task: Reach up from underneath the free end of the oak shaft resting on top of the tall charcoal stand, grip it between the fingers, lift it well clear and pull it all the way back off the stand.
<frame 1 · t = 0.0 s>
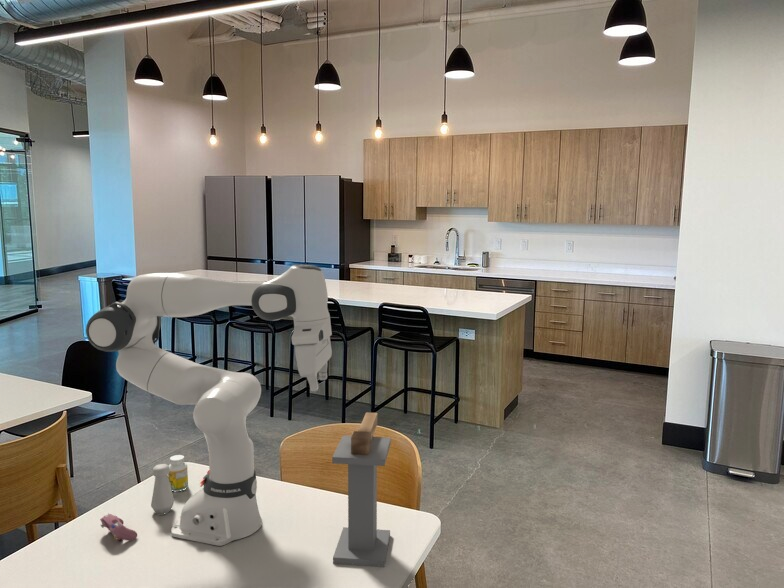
hand: (319, 384, 140), 39 cm above the table, tool pointing down, fingers open, 8 cm apart
salt shaker: (163, 511, 155), on the table
supplement bottle: (178, 489, 168), on the table
charcoal stand: (362, 548, 138), on the table
oak shaft: (366, 438, 140), point 26 cm above the table, touching charcoal stand
pink toy figure: (118, 537, 143), on the table
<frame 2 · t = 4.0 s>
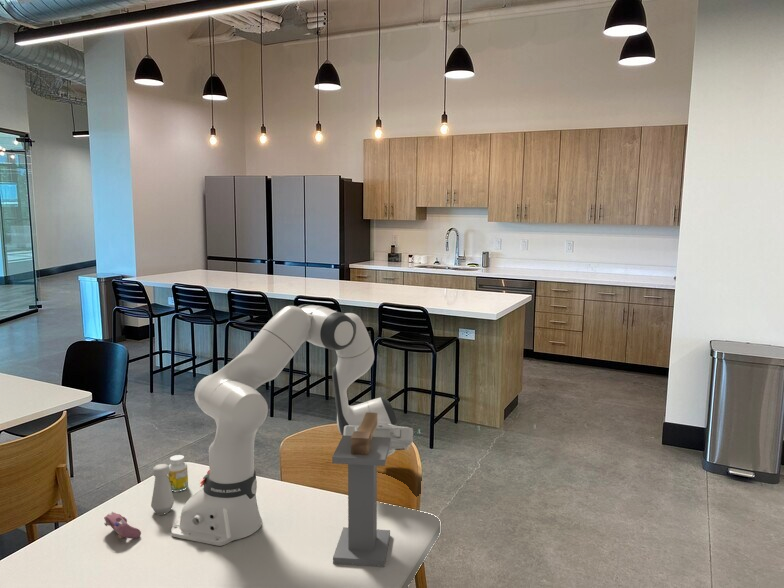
hand: (375, 430, 158), 21 cm above the table, tool pointing upward, fingers open, 8 cm apart
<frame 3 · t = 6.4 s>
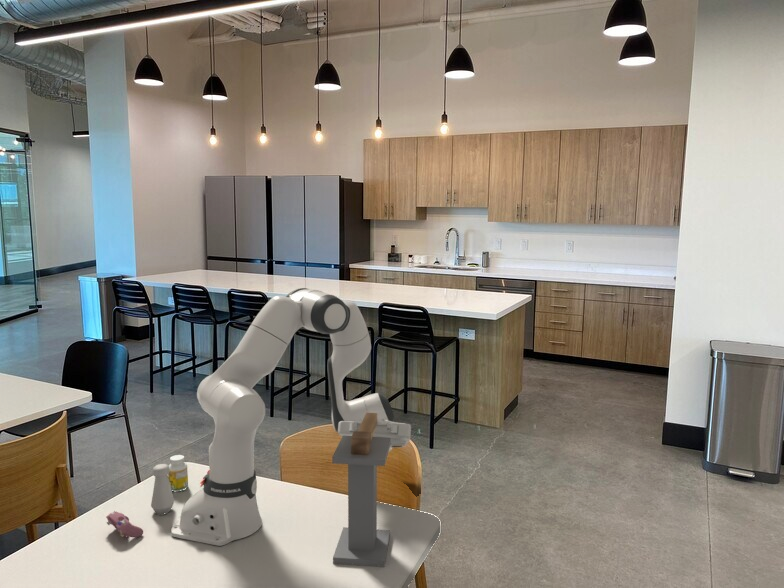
hand: (371, 425, 151), 25 cm above the table, tool pointing upward, fingers open, 8 cm apart
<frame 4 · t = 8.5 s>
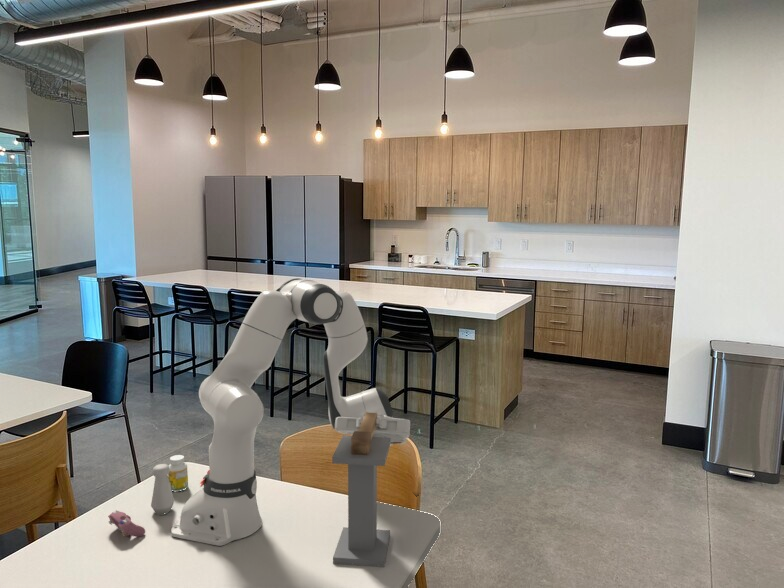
hand: (369, 421, 146), 28 cm above the table, tool pointing upward, fingers closed on oak shaft, 3 cm apart
oak shaft: (366, 438, 140), point 26 cm above the table, touching charcoal stand, gripper
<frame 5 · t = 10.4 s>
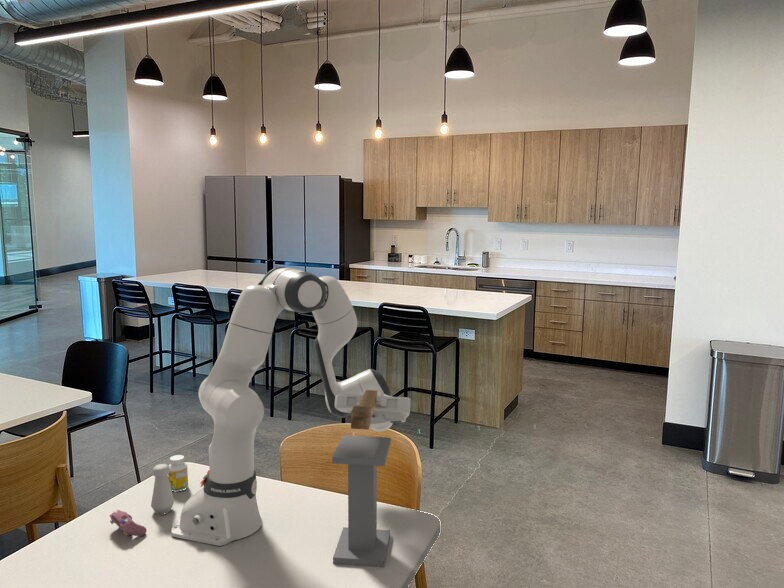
hand: (369, 398, 145), 34 cm above the table, tool pointing upward, fingers closed on oak shaft, 3 cm apart
oak shaft: (366, 414, 139), point 32 cm above the table, touching gripper
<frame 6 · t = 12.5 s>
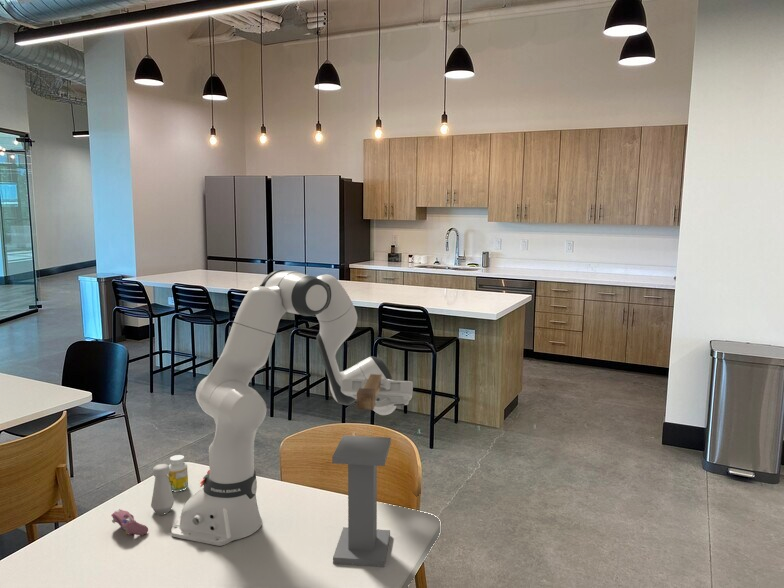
hand: (374, 382, 152), 36 cm above the table, tool pointing upward, fingers closed on oak shaft, 3 cm apart
oak shaft: (370, 396, 146), point 34 cm above the table, touching gripper
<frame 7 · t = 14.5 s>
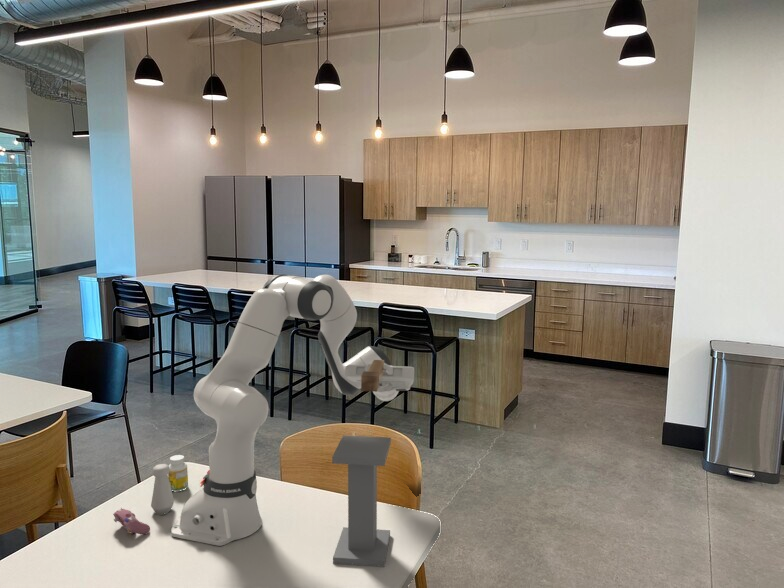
hand: (377, 367, 159), 38 cm above the table, tool pointing upward, fingers closed on oak shaft, 3 cm apart
oak shaft: (374, 380, 153), point 36 cm above the table, touching gripper
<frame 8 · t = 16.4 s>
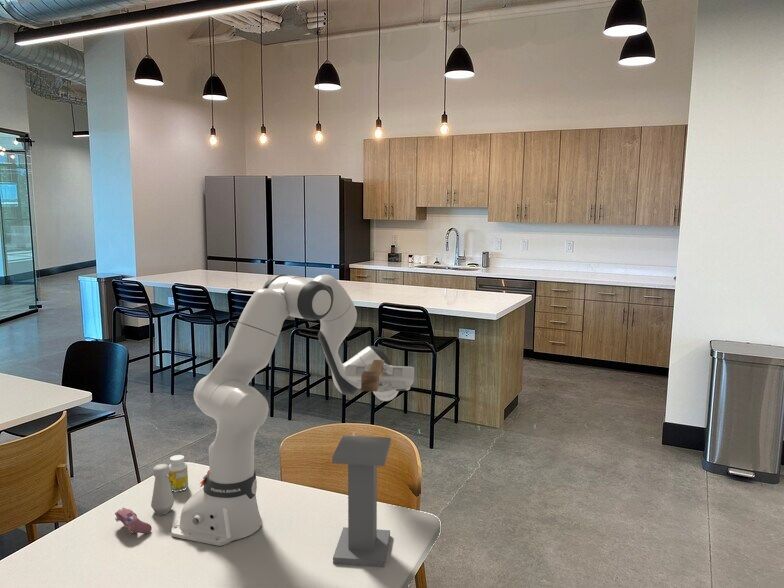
hand: (377, 366, 159), 38 cm above the table, tool pointing upward, fingers closed on oak shaft, 3 cm apart
oak shaft: (374, 380, 153), point 36 cm above the table, touching gripper
at the end: the gripper is holding oak shaft; oak shaft moved 18.2 cm from its start; oak shaft touching gripper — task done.
